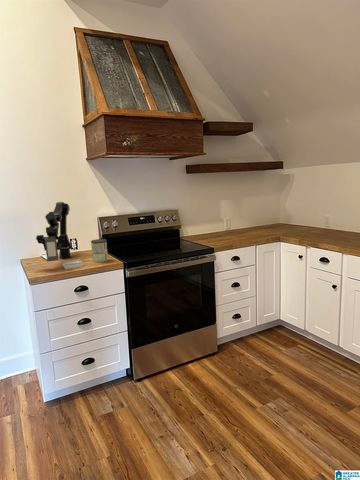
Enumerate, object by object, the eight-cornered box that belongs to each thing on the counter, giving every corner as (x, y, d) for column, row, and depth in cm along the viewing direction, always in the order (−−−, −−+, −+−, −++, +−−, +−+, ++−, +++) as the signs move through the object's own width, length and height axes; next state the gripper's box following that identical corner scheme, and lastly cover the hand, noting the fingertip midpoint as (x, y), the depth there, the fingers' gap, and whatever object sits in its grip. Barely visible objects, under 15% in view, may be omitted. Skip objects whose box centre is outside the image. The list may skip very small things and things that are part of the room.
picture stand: (63, 265, 230) (62, 261, 230) (80, 263, 235) (79, 259, 235) (65, 269, 221) (65, 264, 221) (83, 266, 226) (82, 262, 226)
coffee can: (91, 260, 243) (89, 240, 240) (105, 258, 247) (104, 238, 245) (94, 263, 234) (92, 242, 231) (109, 260, 238) (108, 240, 236)
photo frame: (47, 260, 222) (45, 238, 219) (58, 258, 224) (56, 237, 221) (47, 261, 218) (44, 239, 215) (58, 260, 220) (55, 238, 217)
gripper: (35, 222, 220) (31, 243, 211) (65, 221, 221) (63, 241, 213) (40, 233, 229) (37, 253, 220) (69, 231, 231) (67, 251, 222)
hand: (51, 249), depth 218 cm, fingers closed on photo frame, 7 cm apart
